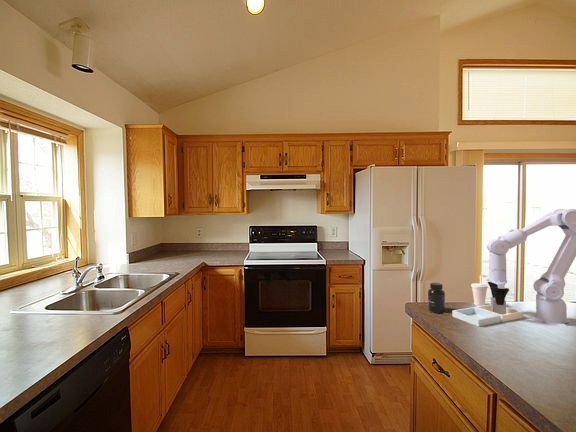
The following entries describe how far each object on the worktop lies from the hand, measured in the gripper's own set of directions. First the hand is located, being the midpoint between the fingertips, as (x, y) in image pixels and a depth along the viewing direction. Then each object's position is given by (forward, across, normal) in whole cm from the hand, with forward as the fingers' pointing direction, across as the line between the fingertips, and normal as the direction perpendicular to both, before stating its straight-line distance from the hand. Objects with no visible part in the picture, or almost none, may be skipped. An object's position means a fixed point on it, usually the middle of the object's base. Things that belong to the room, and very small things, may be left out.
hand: (497, 302), depth 119 cm
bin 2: (+6, 0, 0) cm, 6 cm away
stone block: (+5, 0, 0) cm, 5 cm away
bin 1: (+6, +9, -9) cm, 14 cm away
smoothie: (+6, -13, -5) cm, 15 cm away
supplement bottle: (+6, +2, -22) cm, 23 cm away
